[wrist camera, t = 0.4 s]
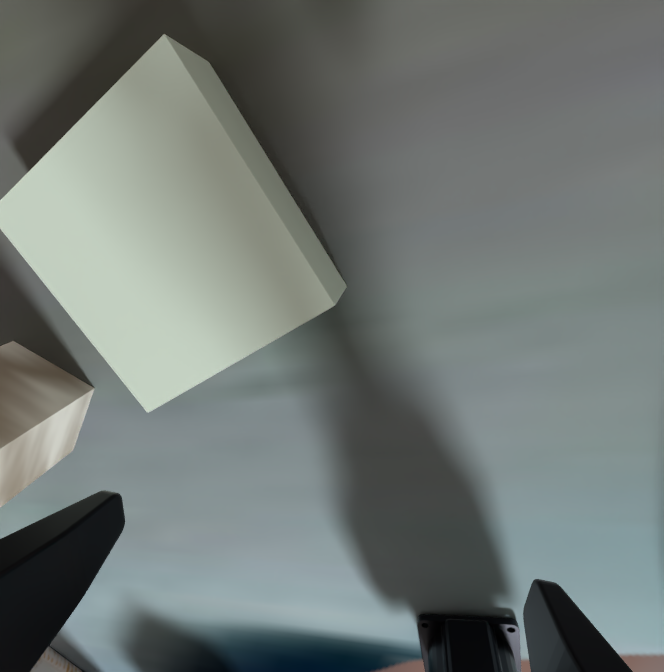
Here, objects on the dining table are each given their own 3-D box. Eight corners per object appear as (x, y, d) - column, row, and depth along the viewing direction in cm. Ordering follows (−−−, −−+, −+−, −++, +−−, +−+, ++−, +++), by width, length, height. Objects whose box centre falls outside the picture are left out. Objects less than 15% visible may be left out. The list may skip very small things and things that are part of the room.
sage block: (348, 284, 21) (335, 305, 17) (186, 379, 25) (147, 413, 21) (213, 64, 18) (164, 33, 15) (57, 208, 22) (-12, 213, 19)
